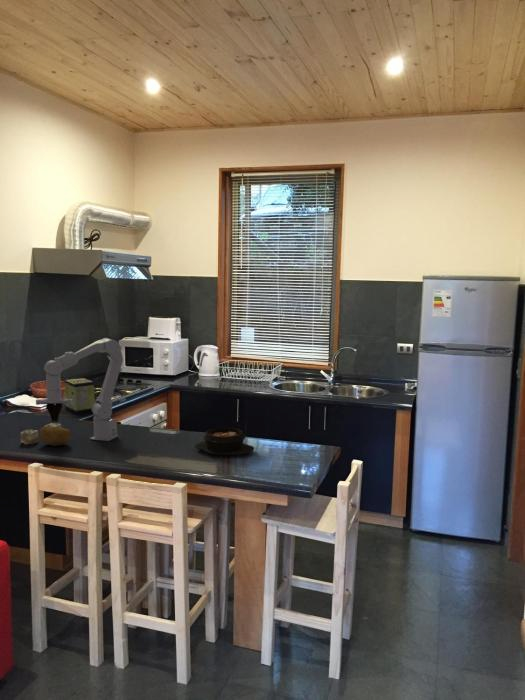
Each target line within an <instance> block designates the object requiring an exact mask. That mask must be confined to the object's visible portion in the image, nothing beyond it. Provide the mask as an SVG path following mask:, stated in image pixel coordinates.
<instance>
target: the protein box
mask: <svg viewBox="0 0 525 700" xmlns="http://www.w3.org/2000/svg"><path fill="white" fill-rule="evenodd" d="M64 399H73V404H71V405H69V404H64V405H65V409H67V410H68V411H71V412H73V413H74V414H81V413H86V412H92V405H93V404H94V403H95V402H96V399H95V381H92V380H89V379H87V378H84V377H80V378H72V379H71V378H70V379H64Z"/></svg>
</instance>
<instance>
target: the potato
mask: <svg viewBox="0 0 525 700" xmlns="http://www.w3.org/2000/svg"><path fill="white" fill-rule="evenodd" d="M44 426H45V427H44ZM44 426H43V427H41V428H40V430H39V437H40V439H41V441H42V442H43V443H45V444H46V445H49V446H51V447H55V446H56V447H57V446H63V445H65V444H67V443H68V442H69V441H70V440H71V436H72V434H71V431H70V430H69V429H68V428H64V427H62V426H61V427H54V426H46V425H44Z"/></svg>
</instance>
